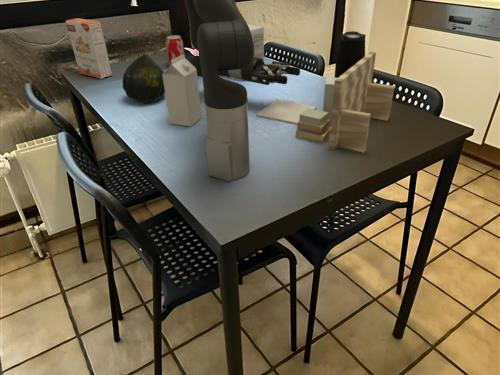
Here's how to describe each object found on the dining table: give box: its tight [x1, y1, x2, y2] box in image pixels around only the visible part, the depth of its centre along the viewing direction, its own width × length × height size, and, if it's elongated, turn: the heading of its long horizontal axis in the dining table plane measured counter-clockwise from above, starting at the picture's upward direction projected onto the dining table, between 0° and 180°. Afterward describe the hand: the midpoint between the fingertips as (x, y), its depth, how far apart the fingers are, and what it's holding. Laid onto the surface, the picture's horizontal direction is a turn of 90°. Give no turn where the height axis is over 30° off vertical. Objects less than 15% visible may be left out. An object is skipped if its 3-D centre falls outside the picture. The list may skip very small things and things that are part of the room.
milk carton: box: [162, 53, 202, 127], centre depth 115 cm, size 7×7×19 cm
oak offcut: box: [296, 119, 331, 136], centre depth 108 cm, size 6×7×2 cm
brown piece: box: [328, 51, 396, 154], centre depth 106 cm, size 28×8×18 cm, turn 149°
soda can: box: [165, 34, 185, 67], centre depth 165 cm, size 7×7×12 cm
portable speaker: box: [334, 30, 367, 78], centre depth 130 cm, size 9×9×20 cm
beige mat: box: [255, 99, 318, 125], centre depth 124 cm, size 14×14×1 cm
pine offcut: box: [294, 127, 331, 145], centre depth 109 cm, size 6×8×2 cm
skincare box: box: [322, 76, 337, 125], centre depth 114 cm, size 6×4×12 cm
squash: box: [122, 54, 165, 104], centre depth 134 cm, size 14×15×15 cm
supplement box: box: [223, 23, 265, 82], centre depth 152 cm, size 13×13×18 cm
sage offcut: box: [299, 108, 328, 126], centre depth 106 cm, size 5×6×2 cm
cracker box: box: [65, 17, 113, 79], centre depth 155 cm, size 14×6×21 cm, turn 55°
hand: (293, 76), depth 117 cm, fingers open, 8 cm apart
